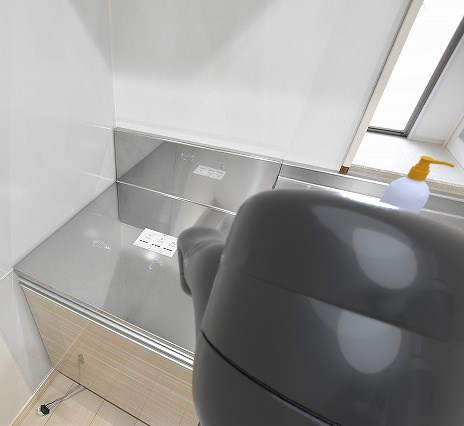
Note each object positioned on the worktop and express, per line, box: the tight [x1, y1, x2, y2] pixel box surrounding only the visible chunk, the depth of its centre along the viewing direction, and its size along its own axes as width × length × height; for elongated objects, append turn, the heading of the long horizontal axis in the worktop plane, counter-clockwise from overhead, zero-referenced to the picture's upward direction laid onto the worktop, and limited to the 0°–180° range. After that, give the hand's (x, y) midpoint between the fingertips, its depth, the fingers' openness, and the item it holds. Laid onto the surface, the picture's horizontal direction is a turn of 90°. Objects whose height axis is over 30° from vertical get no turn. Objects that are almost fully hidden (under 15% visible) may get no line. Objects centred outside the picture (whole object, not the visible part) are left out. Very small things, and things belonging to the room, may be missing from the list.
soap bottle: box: [378, 155, 456, 214], centre depth 76 cm, size 9×9×24 cm
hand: (404, 241), depth 46 cm, fingers open, 8 cm apart
